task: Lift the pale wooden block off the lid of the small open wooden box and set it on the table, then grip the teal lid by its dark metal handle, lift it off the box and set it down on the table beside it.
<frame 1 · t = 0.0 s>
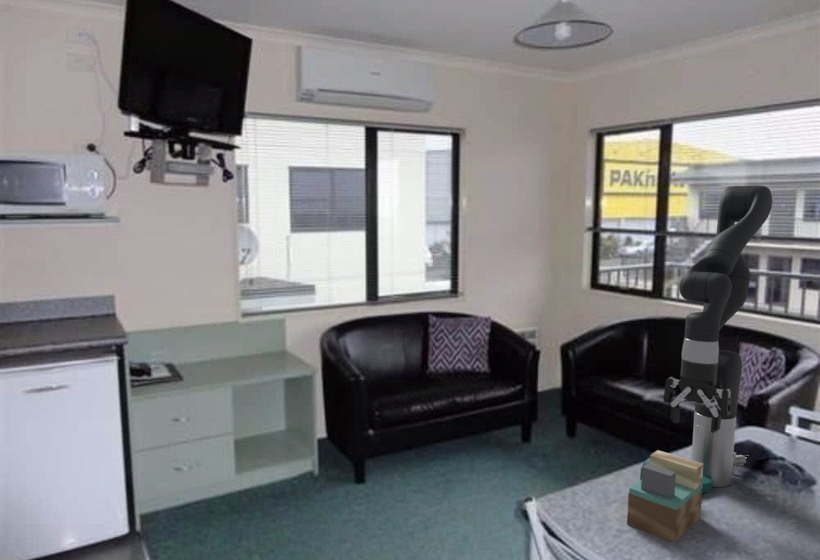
hand: (694, 426, 139), 17 cm above the table, tool pointing down, fingers open, 8 cm apart
caliper: (747, 468, 158), on the table
bracket: (678, 490, 145), on the table, touching arm, open wooden box
lid: (666, 490, 130), point 7 cm above the table, touching pale wooden block, open wooden box
open wooden box: (663, 520, 131), on the table
pale wooden block: (675, 478, 133), point 8 cm above the table, touching lid
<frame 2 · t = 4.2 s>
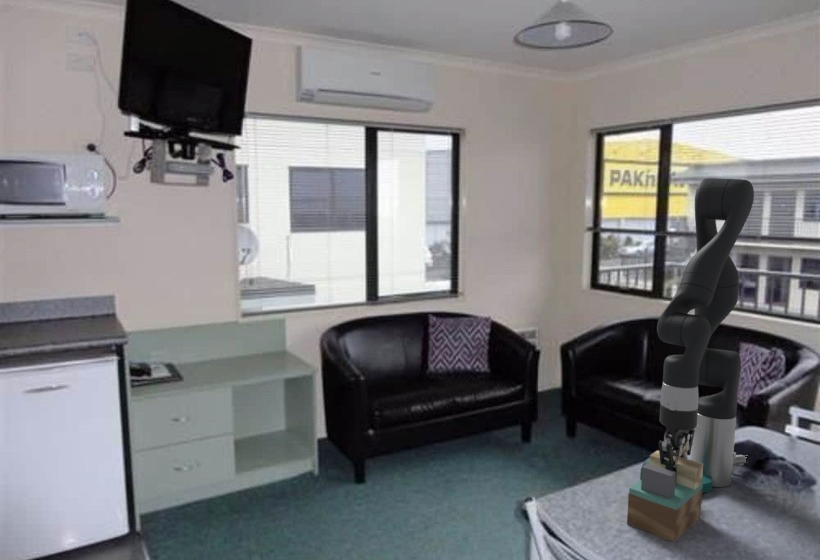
hand: (674, 478, 133), 8 cm above the table, tool pointing down, fingers closed on pale wooden block, lid, 4 cm apart
lid: (666, 490, 130), point 7 cm above the table, touching gripper, pale wooden block, open wooden box
pale wooden block: (675, 478, 133), point 8 cm above the table, touching gripper, lid
everything else where it was.
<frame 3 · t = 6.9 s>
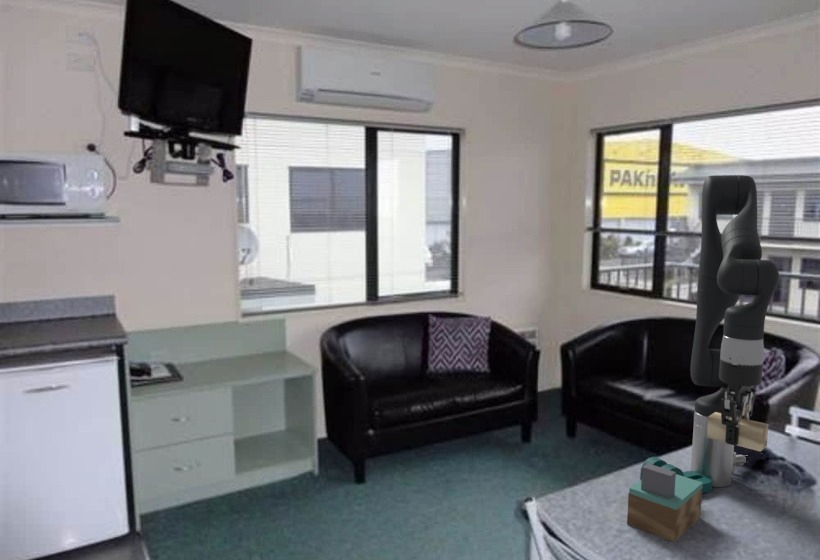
hand: (735, 440, 122), 21 cm above the table, tool pointing down, fingers closed on pale wooden block, 4 cm apart
lid: (666, 490, 130), point 7 cm above the table, touching open wooden box
pale wooden block: (736, 441, 122), point 21 cm above the table, touching gripper
everything else where it was.
when the fingers open (2 cm above the table, at t = 9.7 s): pale wooden block drops 2 cm, on the table.
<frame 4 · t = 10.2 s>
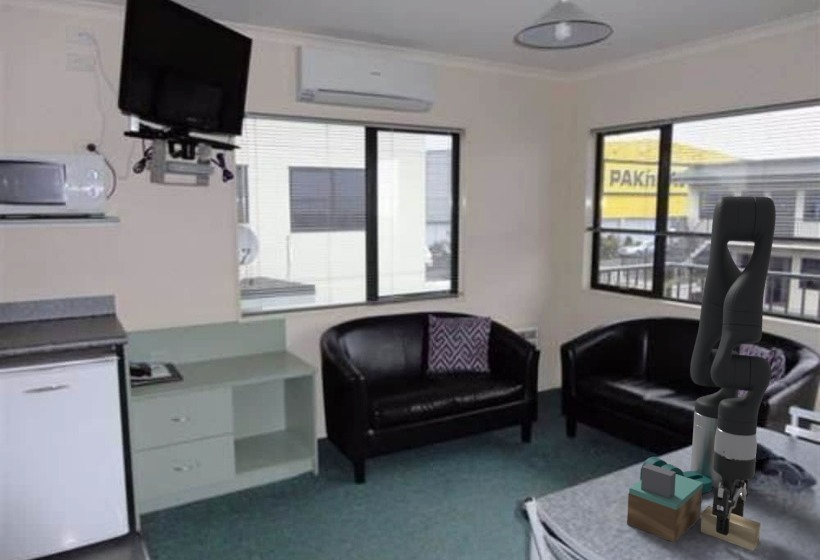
hand: (729, 525, 124), 2 cm above the table, tool pointing down, fingers open, 8 cm apart
pale wooden block: (729, 538, 124), on the table
everything else where it was.
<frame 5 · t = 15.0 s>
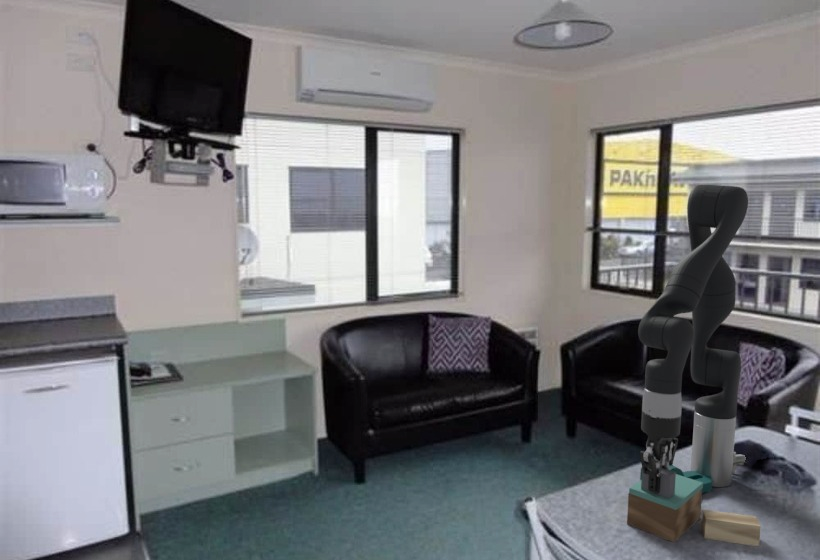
hand: (657, 489, 127), 9 cm above the table, tool pointing down, fingers closed on lid, 2 cm apart
lid: (666, 490, 130), point 7 cm above the table, touching gripper, open wooden box
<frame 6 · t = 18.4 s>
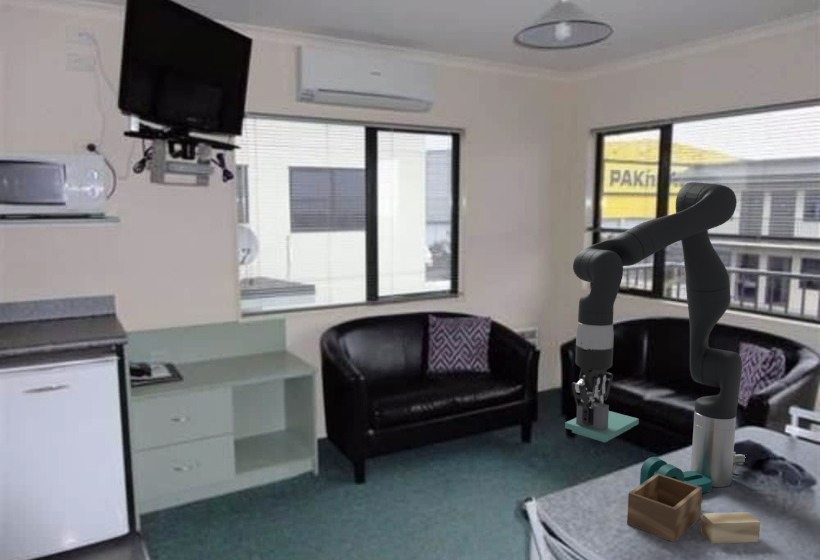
hand: (591, 422, 129), 22 cm above the table, tool pointing down, fingers closed on lid, 2 cm apart
lid: (602, 425, 132), point 20 cm above the table, touching gripper
when the fingers open (4 cm above the table, at t = 22.0 s): lid drops 1 cm, point 1 cm above the table.
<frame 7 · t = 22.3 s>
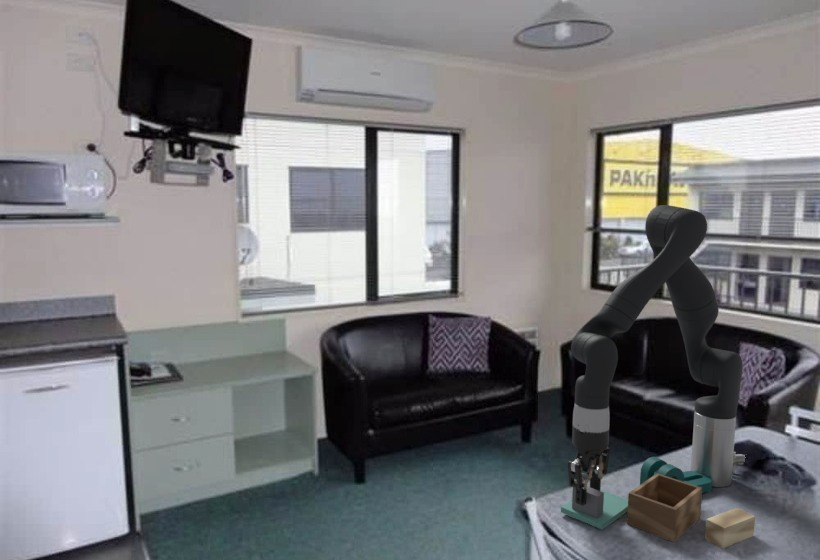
hand: (587, 498, 131), 5 cm above the table, tool pointing down, fingers open, 5 cm apart
lid: (597, 509, 134), point 1 cm above the table
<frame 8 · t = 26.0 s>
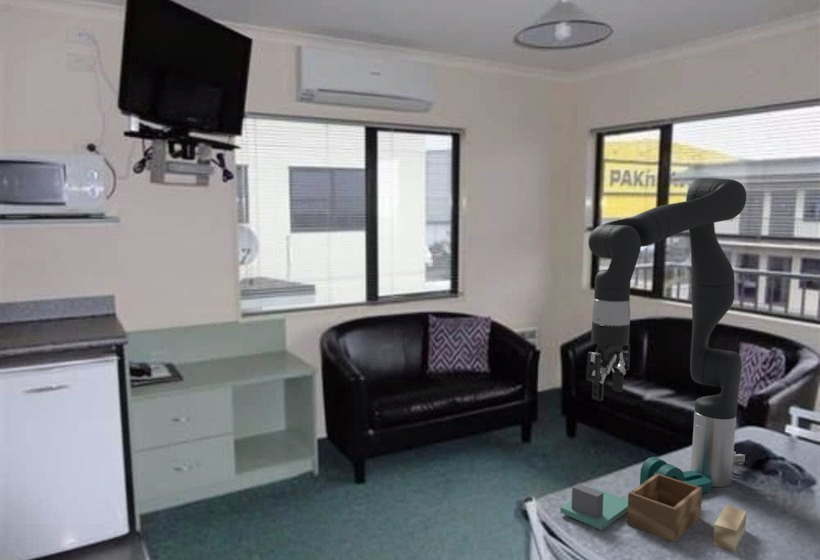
hand: (607, 395, 128), 28 cm above the table, tool pointing down, fingers open, 8 cm apart
at the end: pale wooden block inside the target area (0.2 cm from its centre), on the table; lid inside the target area (0.4 cm from its centre), point 0.7 cm above the table; lid tilted 0° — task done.
